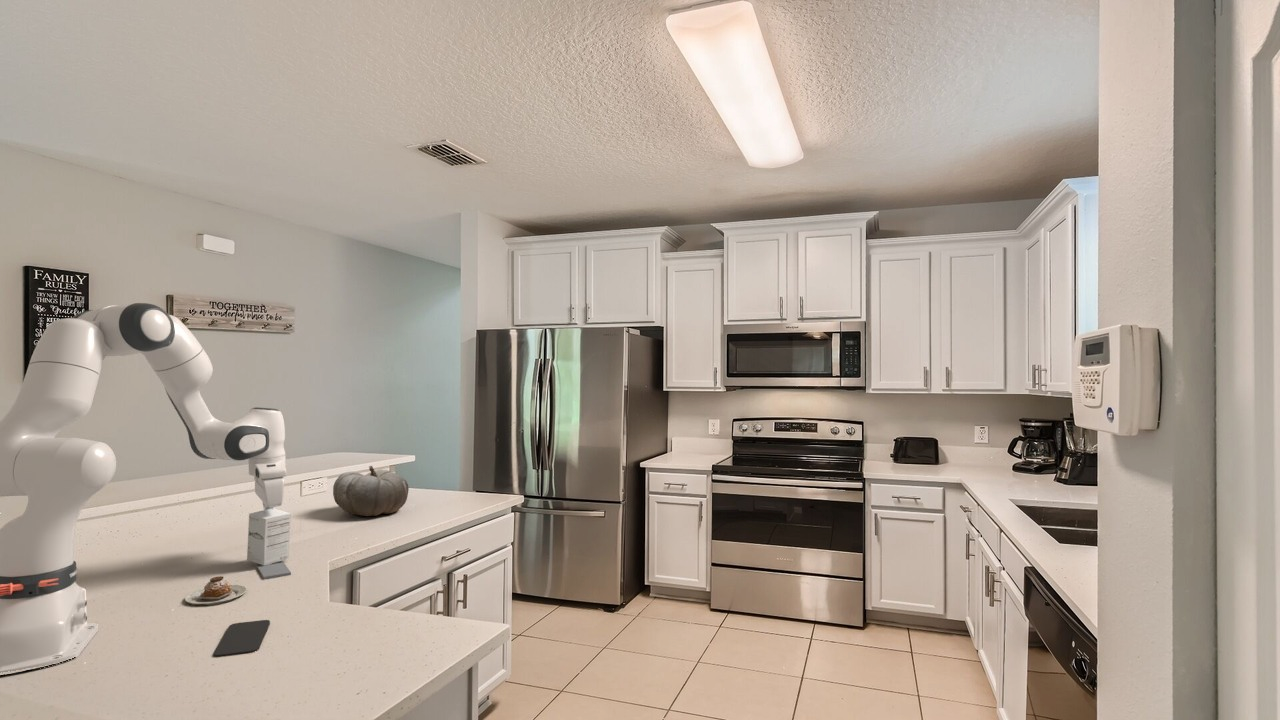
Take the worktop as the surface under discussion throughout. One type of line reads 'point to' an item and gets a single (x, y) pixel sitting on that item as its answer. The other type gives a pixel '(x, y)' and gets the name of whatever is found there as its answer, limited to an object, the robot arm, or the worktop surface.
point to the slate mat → (274, 570)
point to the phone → (242, 638)
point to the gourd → (370, 492)
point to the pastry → (215, 592)
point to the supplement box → (268, 536)
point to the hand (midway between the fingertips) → (268, 516)
